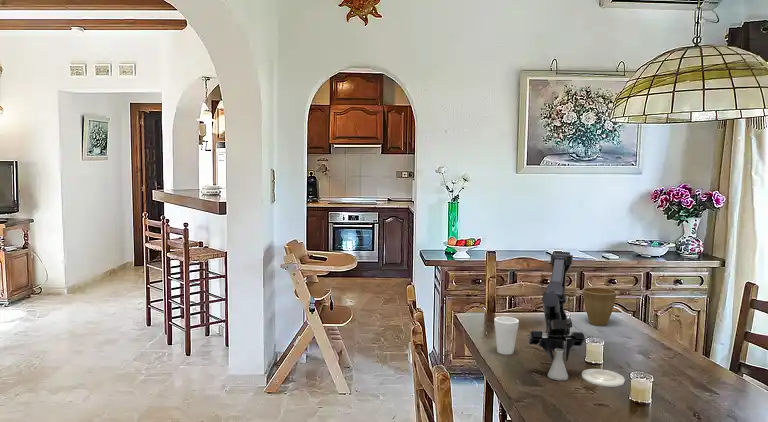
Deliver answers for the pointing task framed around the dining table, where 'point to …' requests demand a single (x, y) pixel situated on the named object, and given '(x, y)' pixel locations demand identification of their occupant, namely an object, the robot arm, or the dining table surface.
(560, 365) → the flask
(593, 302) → the plant pot
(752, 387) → the dining table surface
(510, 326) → the foam cup
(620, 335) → the dining table surface
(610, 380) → the ceramic plate
